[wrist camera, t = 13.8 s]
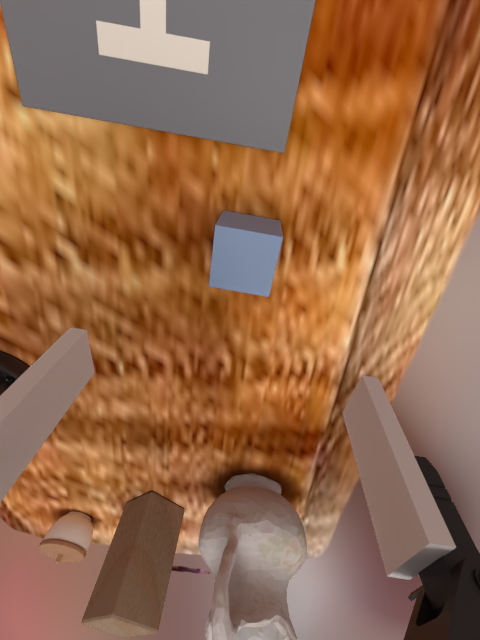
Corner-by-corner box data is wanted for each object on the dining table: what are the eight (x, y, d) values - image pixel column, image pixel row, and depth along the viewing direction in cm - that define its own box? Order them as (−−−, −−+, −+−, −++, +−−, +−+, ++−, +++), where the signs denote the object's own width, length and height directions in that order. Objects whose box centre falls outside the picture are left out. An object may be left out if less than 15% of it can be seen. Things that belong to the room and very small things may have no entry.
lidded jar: (93, 530, 77) (74, 574, 69) (54, 517, 75) (29, 562, 67) (105, 516, 72) (85, 562, 64) (63, 502, 69) (37, 548, 62)
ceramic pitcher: (185, 465, 58) (131, 647, 38) (266, 445, 50) (252, 665, 30) (243, 511, 67) (224, 678, 47) (320, 500, 59) (337, 698, 39)
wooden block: (152, 489, 63) (111, 618, 46) (185, 508, 66) (158, 634, 50) (125, 501, 67) (79, 624, 50) (158, 518, 70) (125, 638, 54)
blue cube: (217, 263, 33) (208, 286, 28) (223, 210, 30) (215, 224, 25) (268, 272, 33) (268, 297, 28) (280, 220, 30) (283, 237, 25)
